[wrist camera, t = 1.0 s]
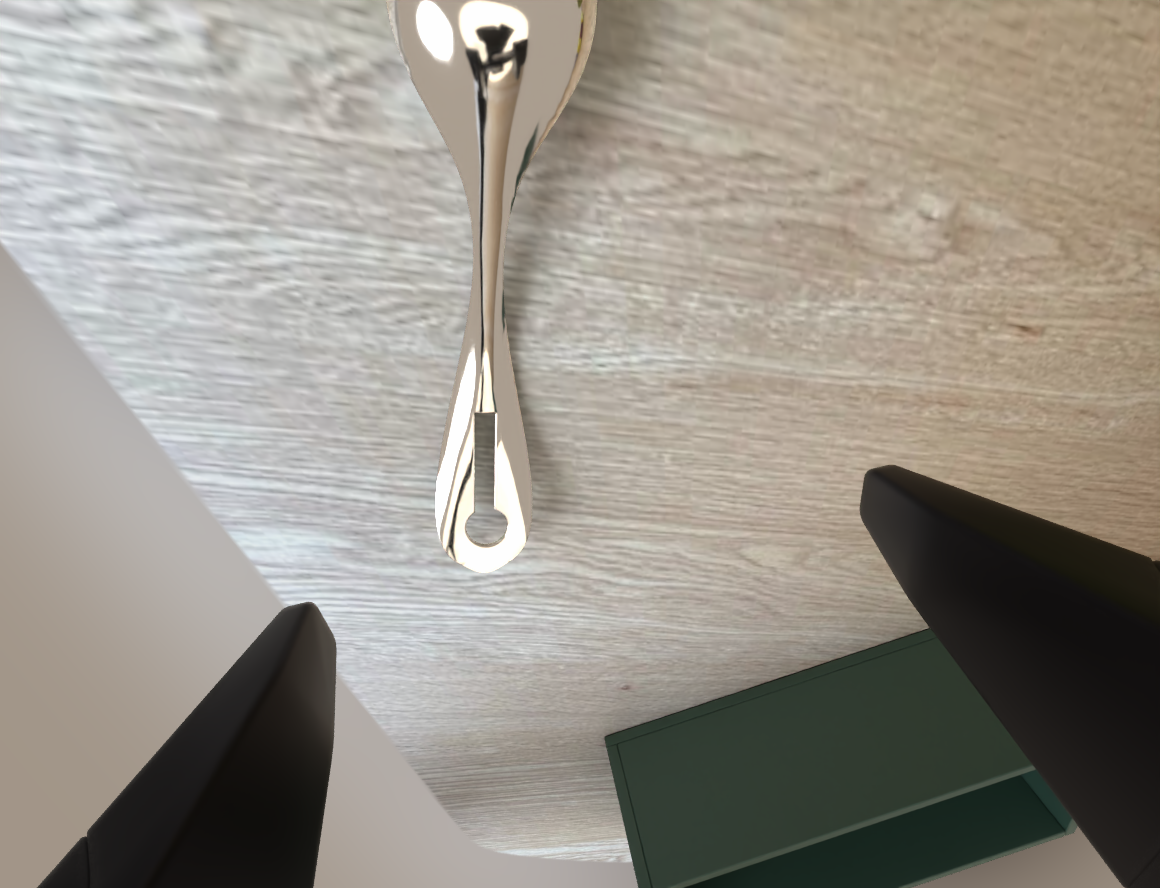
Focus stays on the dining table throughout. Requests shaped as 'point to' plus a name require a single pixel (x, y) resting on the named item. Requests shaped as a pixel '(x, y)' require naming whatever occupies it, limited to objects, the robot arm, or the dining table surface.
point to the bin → (832, 780)
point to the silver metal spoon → (490, 215)
